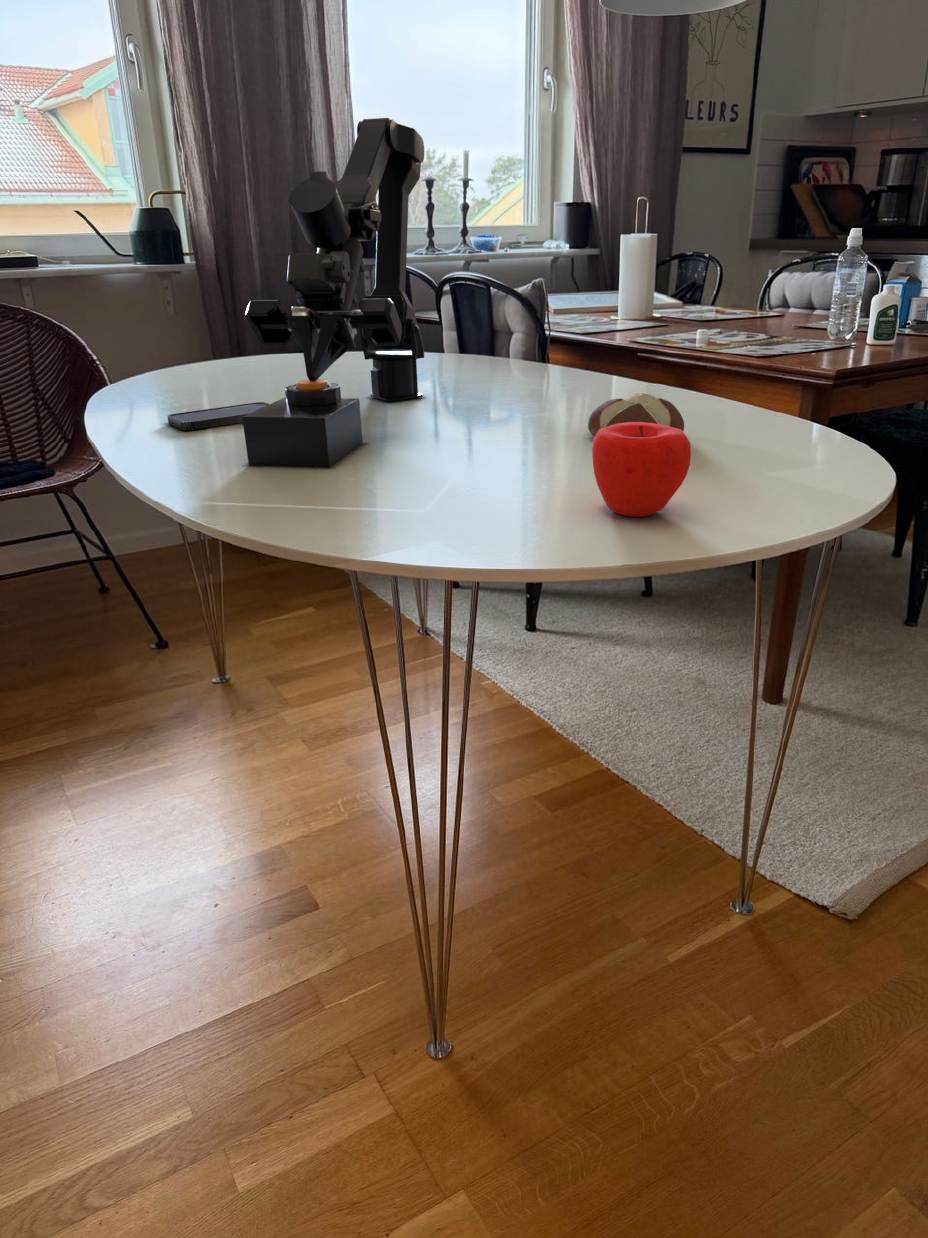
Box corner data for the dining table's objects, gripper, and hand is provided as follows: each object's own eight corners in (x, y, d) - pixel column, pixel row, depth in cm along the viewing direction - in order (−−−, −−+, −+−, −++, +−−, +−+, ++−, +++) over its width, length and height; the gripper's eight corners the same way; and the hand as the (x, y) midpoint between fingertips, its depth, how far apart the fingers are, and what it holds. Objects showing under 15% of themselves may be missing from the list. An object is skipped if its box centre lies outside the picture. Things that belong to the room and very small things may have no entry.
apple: (706, 513, 78) (714, 428, 75) (632, 532, 74) (638, 442, 71) (640, 491, 85) (645, 412, 82) (570, 507, 81) (572, 424, 78)
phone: (165, 414, 123) (262, 401, 131) (166, 422, 124) (263, 408, 131) (183, 423, 117) (284, 408, 125) (184, 431, 118) (285, 415, 125)
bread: (647, 424, 114) (649, 386, 112) (697, 442, 104) (700, 400, 102) (572, 433, 110) (573, 393, 108) (616, 452, 101) (618, 409, 98)
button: (305, 395, 106) (303, 378, 106) (332, 395, 106) (331, 378, 105) (294, 400, 103) (292, 383, 102) (322, 401, 102) (320, 383, 102)
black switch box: (291, 441, 111) (284, 381, 108) (364, 442, 109) (360, 382, 106) (248, 465, 100) (239, 400, 96) (329, 468, 98) (323, 401, 94)
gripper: (241, 229, 103) (211, 335, 98) (389, 224, 99) (366, 334, 94) (275, 294, 113) (250, 393, 108) (410, 292, 110) (391, 394, 104)
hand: (311, 378), depth 103 cm, fingers closed, pressing on button
